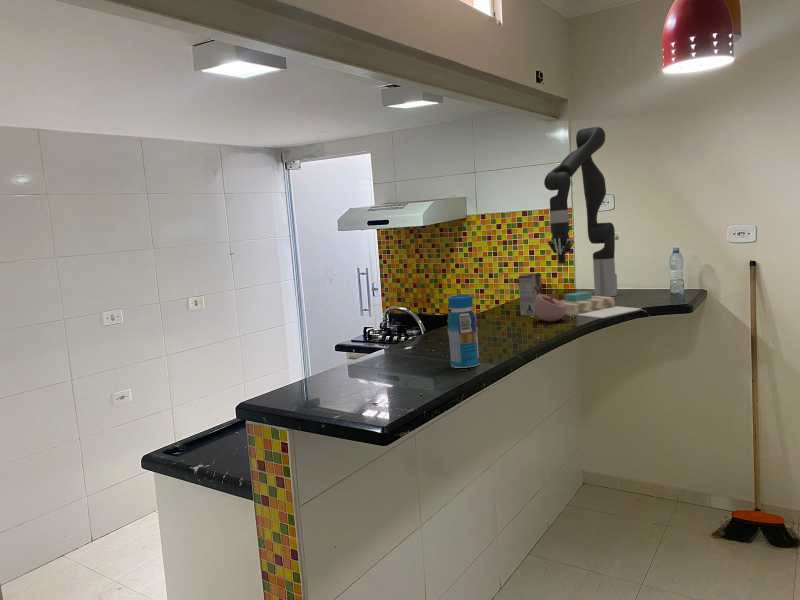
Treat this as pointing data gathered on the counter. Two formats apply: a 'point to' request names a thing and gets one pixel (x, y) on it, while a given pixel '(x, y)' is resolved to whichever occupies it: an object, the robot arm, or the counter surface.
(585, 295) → the teal tile
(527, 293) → the coffee box
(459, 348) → the beverage bottle
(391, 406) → the counter surface
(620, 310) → the white flat panel
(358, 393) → the counter surface
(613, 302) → the oak deck
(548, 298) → the mortar and pestle
